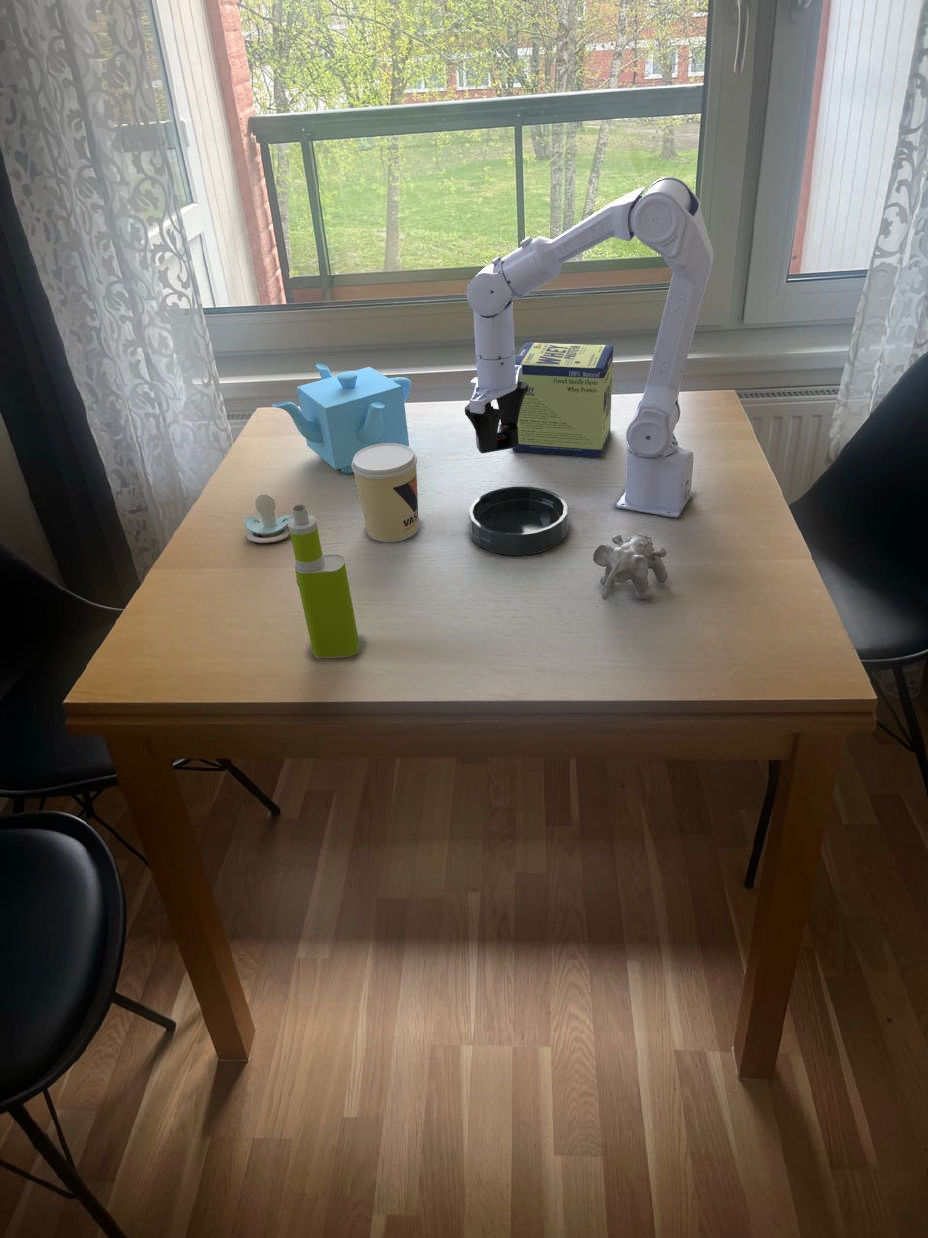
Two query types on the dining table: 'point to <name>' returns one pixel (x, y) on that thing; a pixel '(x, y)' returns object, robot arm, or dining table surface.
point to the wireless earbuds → (503, 438)
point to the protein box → (565, 399)
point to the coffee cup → (387, 490)
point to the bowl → (518, 520)
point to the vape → (322, 590)
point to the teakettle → (350, 413)
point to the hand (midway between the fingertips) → (499, 439)
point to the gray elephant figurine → (631, 564)
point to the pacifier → (267, 522)
